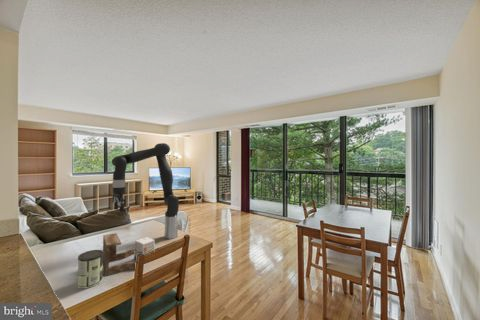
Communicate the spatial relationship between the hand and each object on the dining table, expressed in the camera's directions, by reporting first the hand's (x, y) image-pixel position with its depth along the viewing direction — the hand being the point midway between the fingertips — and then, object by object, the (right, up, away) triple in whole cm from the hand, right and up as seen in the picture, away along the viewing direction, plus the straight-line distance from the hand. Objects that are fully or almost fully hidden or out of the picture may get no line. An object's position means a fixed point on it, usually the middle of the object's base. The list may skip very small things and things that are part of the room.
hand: (118, 210), depth 140 cm
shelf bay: (+12, -27, -17) cm, 35 cm away
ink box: (+22, -28, -10) cm, 37 cm away
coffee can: (+6, -28, -36) cm, 45 cm away
